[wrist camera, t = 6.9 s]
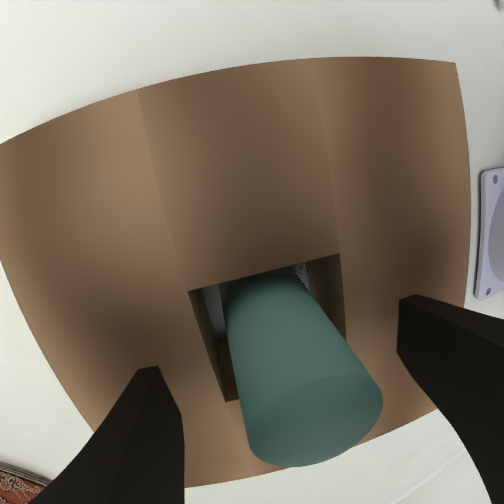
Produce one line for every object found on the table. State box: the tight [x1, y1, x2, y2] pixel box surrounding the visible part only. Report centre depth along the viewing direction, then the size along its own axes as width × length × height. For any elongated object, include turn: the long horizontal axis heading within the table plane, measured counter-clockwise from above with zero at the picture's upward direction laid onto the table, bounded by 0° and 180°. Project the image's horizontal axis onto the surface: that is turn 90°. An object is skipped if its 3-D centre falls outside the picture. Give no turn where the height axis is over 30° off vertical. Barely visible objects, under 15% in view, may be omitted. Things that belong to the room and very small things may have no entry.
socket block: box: [0, 57, 471, 488], centre depth 12 cm, size 16×16×4 cm
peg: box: [219, 266, 383, 467], centre depth 10 cm, size 3×3×8 cm
